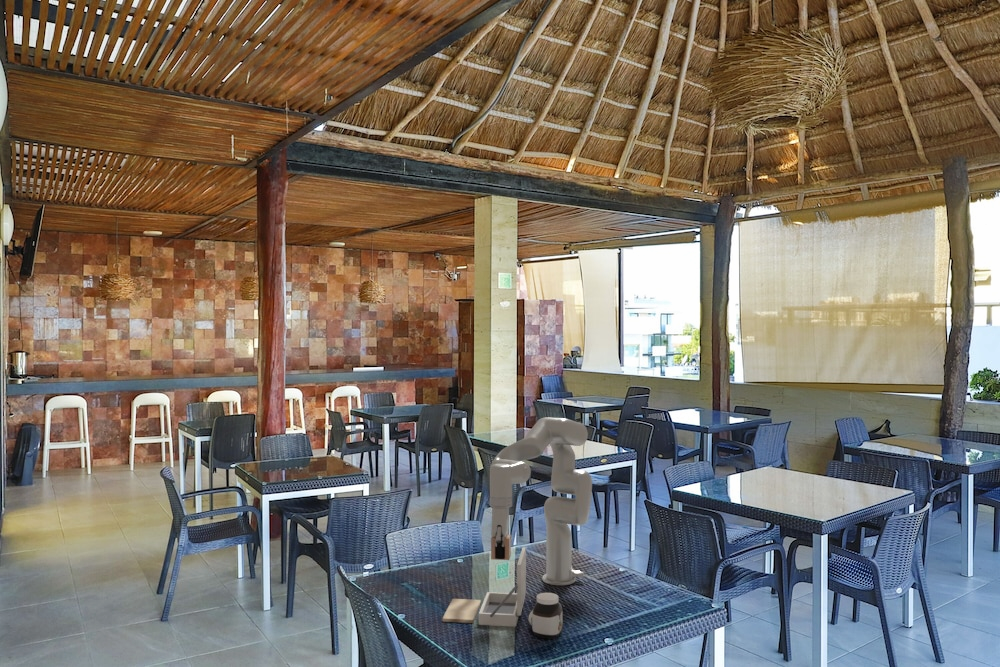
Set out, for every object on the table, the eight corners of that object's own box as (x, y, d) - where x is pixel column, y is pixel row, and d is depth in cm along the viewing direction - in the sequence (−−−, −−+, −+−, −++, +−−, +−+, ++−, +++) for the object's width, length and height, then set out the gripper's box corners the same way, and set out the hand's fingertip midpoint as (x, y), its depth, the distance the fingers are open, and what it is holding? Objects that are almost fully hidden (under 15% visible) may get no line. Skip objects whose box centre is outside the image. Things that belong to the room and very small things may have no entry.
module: (510, 555, 237) (510, 534, 237) (509, 560, 232) (509, 538, 233) (493, 554, 238) (493, 534, 238) (491, 559, 233) (491, 538, 233)
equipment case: (525, 603, 244) (525, 547, 244) (520, 627, 223) (520, 565, 223) (487, 602, 245) (487, 545, 246) (478, 625, 225) (478, 564, 225)
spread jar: (550, 642, 212) (550, 603, 212) (518, 634, 218) (518, 596, 218) (568, 629, 222) (568, 592, 222) (537, 621, 228) (537, 585, 228)
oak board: (481, 602, 245) (481, 599, 245) (472, 623, 227) (472, 619, 227) (452, 601, 246) (452, 598, 246) (442, 621, 228) (442, 618, 228)
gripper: (493, 495, 244) (493, 548, 244) (486, 506, 227) (486, 563, 227) (514, 496, 244) (514, 549, 243) (509, 507, 227) (509, 564, 226)
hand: (501, 555), depth 235 cm, fingers closed on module, 5 cm apart
